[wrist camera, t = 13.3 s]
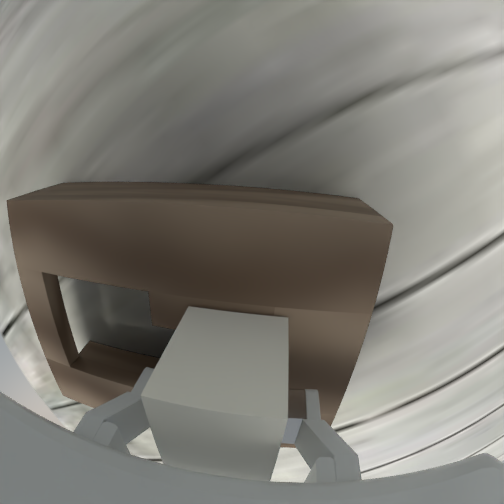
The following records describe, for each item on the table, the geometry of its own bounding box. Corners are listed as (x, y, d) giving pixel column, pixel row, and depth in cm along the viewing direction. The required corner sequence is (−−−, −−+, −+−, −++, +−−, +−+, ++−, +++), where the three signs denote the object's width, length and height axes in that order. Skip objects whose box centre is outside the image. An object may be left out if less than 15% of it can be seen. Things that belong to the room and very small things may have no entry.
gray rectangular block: (203, 270, 15) (132, 393, 7) (292, 279, 15) (297, 419, 7) (205, 359, 17) (164, 478, 9) (279, 368, 17) (271, 495, 9)
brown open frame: (63, 182, 16) (6, 200, 11) (359, 198, 15) (393, 224, 10) (93, 354, 21) (63, 395, 16) (316, 391, 20) (320, 448, 15)
